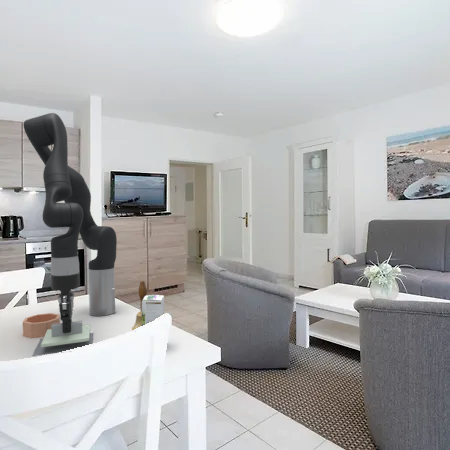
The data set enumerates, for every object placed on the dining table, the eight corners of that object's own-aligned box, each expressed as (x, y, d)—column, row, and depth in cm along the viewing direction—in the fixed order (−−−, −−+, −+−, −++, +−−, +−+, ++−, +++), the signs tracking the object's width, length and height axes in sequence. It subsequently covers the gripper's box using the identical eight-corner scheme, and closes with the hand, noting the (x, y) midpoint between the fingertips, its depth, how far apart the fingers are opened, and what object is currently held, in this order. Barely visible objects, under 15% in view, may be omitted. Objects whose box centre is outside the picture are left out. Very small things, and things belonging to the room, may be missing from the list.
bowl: (61, 326, 116) (61, 312, 115) (57, 337, 106) (57, 321, 106) (27, 330, 112) (27, 315, 112) (20, 341, 103) (20, 324, 103)
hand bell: (132, 335, 107) (131, 285, 107) (129, 327, 115) (128, 280, 114) (158, 331, 111) (158, 282, 110) (154, 323, 118) (153, 278, 117)
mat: (93, 334, 108) (93, 332, 108) (92, 350, 96) (92, 348, 96) (40, 340, 103) (40, 338, 103) (31, 358, 91) (31, 356, 91)
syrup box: (144, 343, 101) (143, 294, 100) (164, 342, 101) (164, 294, 101) (141, 351, 95) (140, 300, 94) (162, 350, 95) (162, 299, 95)
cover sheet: (90, 326, 107) (89, 315, 107) (89, 340, 96) (88, 327, 96) (47, 332, 103) (47, 319, 103) (41, 347, 92) (40, 333, 92)
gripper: (78, 275, 93) (80, 337, 94) (80, 267, 106) (82, 321, 107) (47, 277, 91) (49, 341, 92) (53, 268, 104) (55, 324, 105)
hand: (67, 330), depth 100 cm, fingers closed on cover sheet, 2 cm apart
